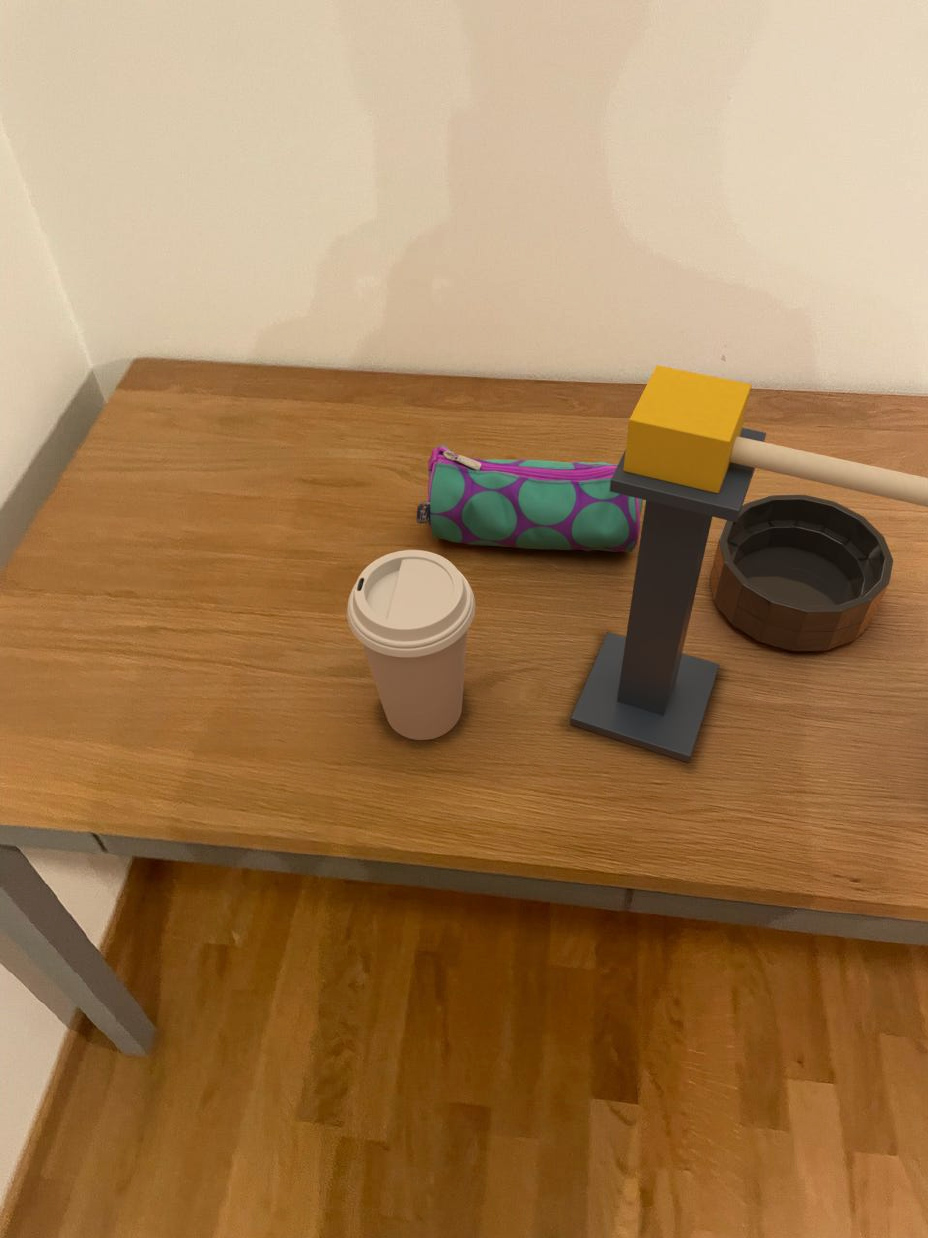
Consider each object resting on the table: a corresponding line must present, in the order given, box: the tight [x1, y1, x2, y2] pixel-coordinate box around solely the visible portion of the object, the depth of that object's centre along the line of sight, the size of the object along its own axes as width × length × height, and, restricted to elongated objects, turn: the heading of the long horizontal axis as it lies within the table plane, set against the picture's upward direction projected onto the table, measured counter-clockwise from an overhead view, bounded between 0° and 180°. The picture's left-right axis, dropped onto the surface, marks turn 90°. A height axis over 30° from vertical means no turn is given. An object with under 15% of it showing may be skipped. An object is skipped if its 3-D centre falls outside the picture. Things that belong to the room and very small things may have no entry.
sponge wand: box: [623, 364, 928, 508], centre depth 55 cm, size 19×6×4 cm, turn 67°
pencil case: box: [416, 444, 644, 553], centre depth 88 cm, size 21×9×10 cm, turn 82°
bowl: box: [709, 493, 894, 652], centre depth 83 cm, size 14×14×6 cm
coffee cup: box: [346, 549, 476, 741], centre depth 73 cm, size 10×10×15 cm
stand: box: [569, 426, 767, 764], centre depth 68 cm, size 10×10×26 cm
